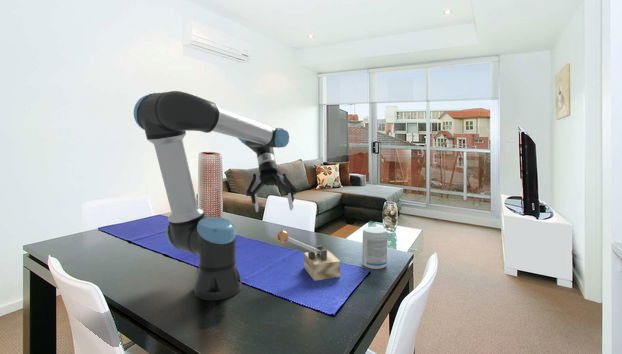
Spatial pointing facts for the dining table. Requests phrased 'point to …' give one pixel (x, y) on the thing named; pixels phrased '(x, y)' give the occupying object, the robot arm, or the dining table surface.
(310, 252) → the block with knobs
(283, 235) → the press lever
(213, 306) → the dining table surface
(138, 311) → the dining table surface
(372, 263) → the supplement tub
